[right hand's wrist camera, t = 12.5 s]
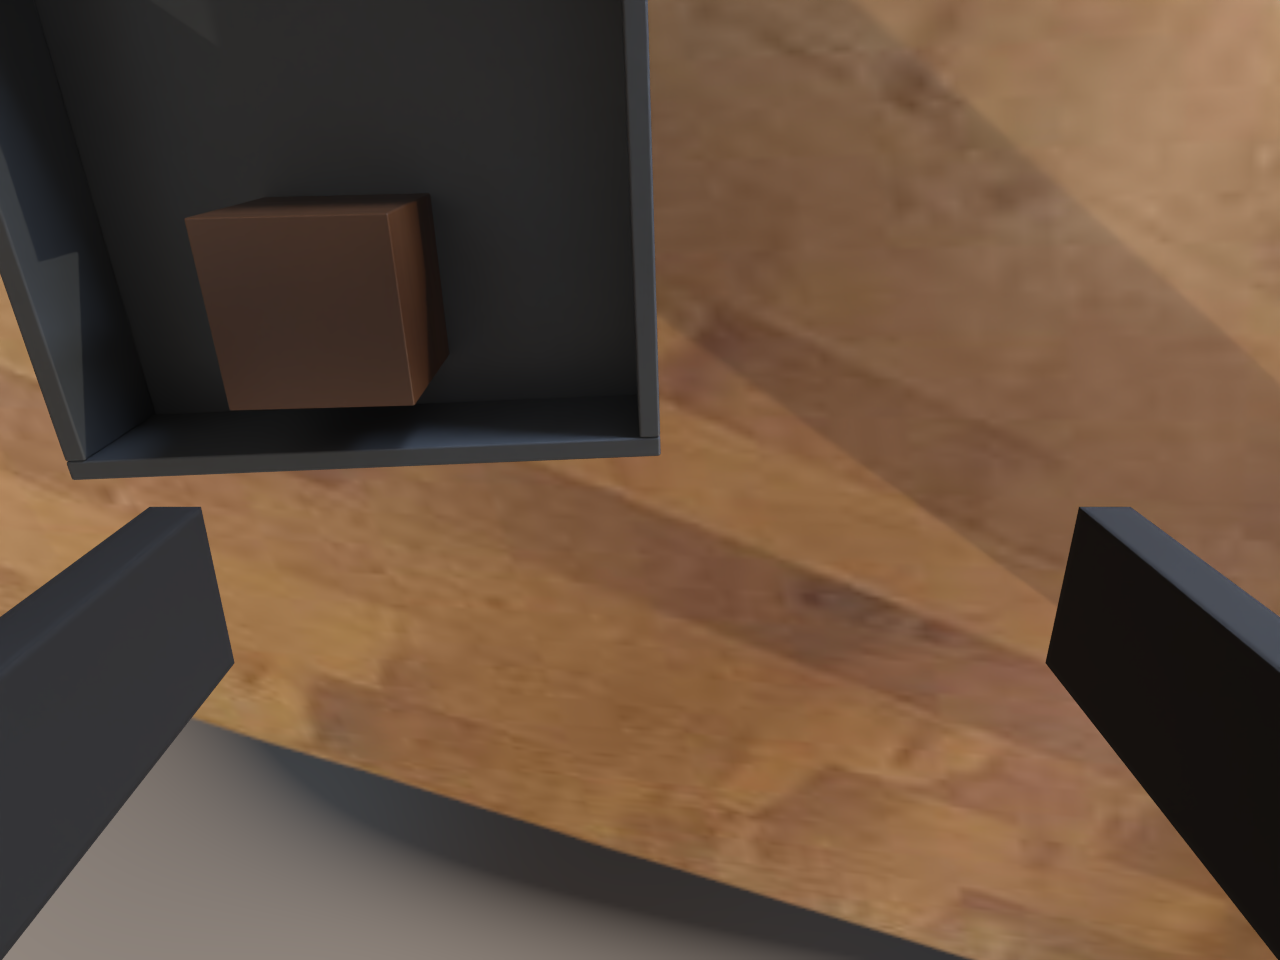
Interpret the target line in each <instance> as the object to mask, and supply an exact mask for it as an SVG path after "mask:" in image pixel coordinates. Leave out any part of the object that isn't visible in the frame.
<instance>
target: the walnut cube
mask: <svg viewBox="0 0 1280 960" xmlns="http://www.w3.org/2000/svg"><path fill="white" fill-rule="evenodd" d="M184 220H185V225H186V229H187V233H188V237H189V241H190V246H191V250H192V254H193V258H194V262H195V267H196V271H197V275H198V279H199V283H200V288H201V292H202V296H203V300H204V304H205V309H206V313H207V317H208V321H209V325H210V330H211V334H212V338H213V342H214V346H215V351H216V355H217V359H218V363H219V367H220V371H221V376H222V380H223V384H224V388H225V392H226V397H227V401H228V405H229V409H230V410H263V409H300V408H337V407H374V406H411V405H415V404H416V402H417V401H418V399H419V398H420V396H421V395H422V393H423V392H424V391H425V389H426V388H427V386H428V385H429V383H430V382H431V380H432V379H433V377H434V376H435V375H436V373H437V372H438V370H439V369H440V367H441V366H442V364H443V363H444V361H445V360H446V359H447V357H448V356H449V347H448V339H447V331H446V322H445V314H444V306H443V297H442V289H441V281H440V272H439V264H438V255H437V247H436V239H435V230H434V222H433V214H432V205H431V197H430V194H429V193H416V194H376V195H335V196H295V197H263V198H260V199H256V200H252V201H248V202H244V203H240V204H237V205H233V206H229V207H225V208H221V209H218V210H214V211H210V212H206V213H202V214H199V215H195V216H191V217H187V218H185V219H184Z"/></svg>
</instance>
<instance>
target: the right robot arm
mask: <svg viewBox="0 0 1280 960" xmlns="http://www.w3.org/2000/svg"><path fill="white" fill-rule="evenodd" d="M233 664H234V659H233V654H232V649H231V645H230V640H229V635H228V631H227V626H226V621H225V617H224V612H223V608H222V603H221V598H220V594H219V589H218V584H217V580H216V575H215V570H214V566H213V561H212V556H211V552H210V547H209V542H208V538H207V533H206V529H205V524H204V519H203V515H202V510H201V507H149V508H148V509H146V510H145V511H143V512H142V513H141V514H139V515H138V516H137V517H135V518H134V519H133V520H131V521H130V522H129V523H127V524H126V525H125V526H123V527H122V528H120V529H119V530H118V531H116V532H115V533H114V534H112V535H111V536H110V537H108V538H107V539H106V540H104V541H103V542H101V543H100V544H99V545H97V546H96V547H95V548H93V549H92V550H91V551H89V552H88V553H87V554H85V555H84V556H82V557H81V558H80V559H78V560H77V561H76V562H74V563H73V564H72V565H70V566H69V567H68V568H66V569H65V570H63V571H62V572H61V573H59V574H58V575H57V576H55V577H54V578H53V579H51V580H50V581H49V582H47V583H46V584H45V585H43V586H42V587H40V588H39V589H38V590H36V591H35V592H34V593H32V594H31V595H30V596H28V597H27V598H26V599H24V600H23V601H21V602H20V603H19V604H17V605H16V606H15V607H13V608H12V609H11V610H9V611H8V612H7V613H5V614H4V615H2V616H1V617H0V960H2V959H3V958H4V956H5V955H6V954H7V953H8V951H9V950H10V949H11V948H12V946H13V945H14V944H15V942H16V941H17V940H18V939H19V937H20V936H21V935H22V933H23V932H24V931H25V930H26V928H27V927H28V926H29V925H30V923H31V922H32V921H33V919H34V918H35V917H36V916H37V914H38V913H39V912H40V910H41V909H42V908H43V907H44V905H45V904H46V903H47V901H48V900H49V899H50V898H51V896H52V895H53V894H54V893H55V891H56V890H57V889H58V888H59V886H60V885H61V884H62V882H63V881H64V880H65V879H66V877H67V876H68V875H69V873H70V872H71V871H72V870H73V868H74V867H75V866H76V865H77V863H78V862H79V861H80V859H81V858H82V857H83V856H84V854H85V853H86V852H87V851H88V849H89V848H90V847H91V845H92V844H93V843H94V842H95V840H96V839H97V838H98V836H99V835H100V834H101V833H102V831H103V830H104V829H105V828H106V826H107V825H108V824H109V822H110V821H111V820H112V819H113V817H114V816H115V815H116V813H117V812H118V811H119V810H120V808H121V807H122V806H123V805H124V803H125V802H126V801H127V799H128V798H129V797H130V796H131V794H132V793H133V792H134V791H135V789H136V788H137V787H138V785H139V784H140V783H141V782H142V780H143V779H144V778H145V776H146V775H147V774H148V773H149V771H150V770H151V769H152V768H153V766H154V765H155V764H156V762H157V761H158V760H159V759H160V757H161V756H162V755H163V754H164V752H165V751H166V750H167V748H168V747H169V746H170V745H171V743H172V742H173V741H174V739H175V738H176V737H177V736H178V734H179V733H180V732H181V731H182V729H183V728H184V727H185V725H186V724H187V723H188V722H189V720H190V719H191V718H192V717H193V715H194V714H195V713H196V711H197V710H198V709H199V708H200V706H201V705H202V704H203V702H204V701H205V700H206V699H207V697H208V696H209V695H210V694H211V692H212V691H213V690H214V688H215V687H216V686H217V685H218V683H219V682H220V681H221V680H222V678H223V677H224V676H225V674H226V673H227V672H228V671H229V669H230V668H231V667H232V665H233ZM1046 664H1047V665H1048V667H1049V668H1050V669H1051V671H1052V672H1053V673H1054V674H1055V676H1056V677H1057V678H1058V680H1059V681H1060V682H1061V683H1062V685H1063V686H1064V687H1065V688H1066V690H1067V691H1068V692H1069V694H1070V695H1071V696H1072V697H1073V699H1074V700H1075V701H1076V702H1077V704H1078V705H1079V706H1080V708H1081V709H1082V710H1083V711H1084V713H1085V714H1086V715H1087V717H1088V718H1089V719H1090V720H1091V722H1092V723H1093V724H1094V725H1095V727H1096V728H1097V729H1098V731H1099V732H1100V733H1101V734H1102V736H1103V737H1104V738H1105V739H1106V741H1107V742H1108V743H1109V745H1110V746H1111V747H1112V748H1113V750H1114V751H1115V752H1116V754H1117V755H1118V756H1119V757H1120V759H1121V760H1122V761H1123V762H1124V764H1125V765H1126V766H1127V768H1128V769H1129V770H1130V771H1131V773H1132V774H1133V775H1134V777H1135V778H1136V779H1137V780H1138V782H1139V783H1140V784H1141V785H1142V787H1143V788H1144V789H1145V791H1146V792H1147V793H1148V794H1149V796H1150V797H1151V798H1152V799H1153V801H1154V802H1155V803H1156V805H1157V806H1158V807H1159V808H1160V810H1161V811H1162V812H1163V814H1164V815H1165V816H1166V817H1167V819H1168V820H1169V821H1170V822H1171V824H1172V825H1173V826H1174V828H1175V829H1176V830H1177V831H1178V833H1179V834H1180V835H1181V836H1182V838H1183V839H1184V840H1185V842H1186V843H1187V844H1188V845H1189V847H1190V848H1191V849H1192V851H1193V852H1194V853H1195V854H1196V856H1197V857H1198V858H1199V859H1200V861H1201V862H1202V863H1203V865H1204V866H1205V867H1206V868H1207V870H1208V871H1209V872H1210V874H1211V875H1212V876H1213V877H1214V879H1215V880H1216V881H1217V882H1218V884H1219V885H1220V886H1221V888H1222V889H1223V890H1224V891H1225V893H1226V894H1227V895H1228V896H1229V898H1230V899H1231V900H1232V902H1233V903H1234V904H1235V905H1236V907H1237V908H1238V909H1239V911H1240V912H1241V913H1242V914H1243V916H1244V917H1245V918H1246V919H1247V921H1248V922H1249V923H1250V925H1251V926H1252V927H1253V928H1254V930H1255V931H1256V932H1257V933H1258V935H1259V936H1260V937H1261V939H1262V940H1263V941H1264V942H1265V944H1266V945H1267V946H1268V948H1269V949H1270V950H1271V951H1272V953H1273V954H1274V955H1275V956H1276V958H1277V959H1278V960H1280V617H1279V616H1278V615H1276V614H1275V613H1273V612H1272V611H1271V610H1269V609H1268V608H1267V607H1265V606H1264V605H1263V604H1261V603H1260V602H1259V601H1257V600H1256V599H1254V598H1253V597H1252V596H1250V595H1249V594H1248V593H1246V592H1245V591H1244V590H1242V589H1241V588H1240V587H1238V586H1237V585H1236V584H1234V583H1233V582H1231V581H1230V580H1229V579H1227V578H1226V577H1225V576H1223V575H1222V574H1221V573H1219V572H1218V571H1217V570H1215V569H1214V568H1212V567H1211V566H1210V565H1208V564H1207V563H1206V562H1204V561H1203V560H1202V559H1200V558H1199V557H1198V556H1196V555H1195V554H1193V553H1192V552H1191V551H1189V550H1188V549H1187V548H1185V547H1184V546H1183V545H1181V544H1180V543H1179V542H1177V541H1176V540H1174V539H1173V538H1172V537H1170V536H1169V535H1168V534H1166V533H1165V532H1164V531H1162V530H1161V529H1160V528H1158V527H1157V526H1155V525H1154V524H1153V523H1151V522H1150V521H1149V520H1147V519H1146V518H1145V517H1143V516H1142V515H1141V514H1139V513H1138V512H1137V511H1135V510H1134V509H1132V508H1131V507H1079V510H1078V515H1077V519H1076V524H1075V529H1074V533H1073V538H1072V542H1071V547H1070V552H1069V556H1068V561H1067V566H1066V570H1065V575H1064V580H1063V584H1062V589H1061V594H1060V598H1059V603H1058V608H1057V612H1056V617H1055V621H1054V626H1053V631H1052V635H1051V640H1050V645H1049V649H1048V654H1047V659H1046Z"/></svg>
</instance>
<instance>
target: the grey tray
mask: <svg viewBox="0 0 1280 960" xmlns="http://www.w3.org/2000/svg"><path fill="white" fill-rule="evenodd" d="M416 193H429V194H430V197H431V205H432V214H433V222H434V230H435V239H436V247H437V255H438V264H439V272H440V281H441V289H442V297H443V306H444V314H445V322H446V331H447V339H448V347H449V356H448V357H447V359H446V360H445V361H444V363H443V364H442V366H441V367H440V369H439V370H438V372H437V373H436V375H435V376H434V377H433V379H432V380H431V382H430V383H429V385H428V386H427V388H426V389H425V391H424V392H423V393H422V395H421V396H420V398H419V399H418V401H417V402H416V404H415V405H411V406H374V407H337V408H300V409H263V410H230V409H229V405H228V401H227V397H226V392H225V388H224V384H223V380H222V376H221V371H220V367H219V363H218V359H217V355H216V351H215V346H214V342H213V338H212V334H211V330H210V325H209V321H208V317H207V313H206V309H205V304H204V300H203V296H202V292H201V288H200V283H199V279H198V275H197V271H196V267H195V262H194V258H193V254H192V250H191V246H190V241H189V237H188V233H187V229H186V225H185V220H184V219H185V218H187V217H191V216H195V215H199V214H202V213H206V212H210V211H214V210H218V209H221V208H225V207H229V206H233V205H237V204H240V203H244V202H248V201H252V200H256V199H260V198H263V197H295V196H335V195H376V194H416ZM0 274H1V277H2V280H3V283H4V285H5V288H6V291H7V294H8V297H9V300H10V303H11V305H12V308H13V311H14V314H15V317H16V320H17V323H18V325H19V328H20V331H21V334H22V337H23V340H24V343H25V346H26V348H27V351H28V354H29V357H30V360H31V363H32V366H33V368H34V371H35V374H36V377H37V380H38V383H39V386H40V388H41V391H42V394H43V397H44V400H45V403H46V406H47V408H48V411H49V414H50V417H51V420H52V423H53V426H54V428H55V431H56V434H57V437H58V440H59V443H60V446H61V448H62V451H63V454H64V457H65V460H66V461H68V462H67V466H68V468H69V471H70V474H71V477H72V479H73V480H82V479H107V478H131V477H155V476H179V475H203V474H227V473H251V472H276V471H300V470H324V469H348V468H372V467H396V466H420V465H445V464H469V463H493V462H517V461H541V460H565V459H589V458H614V457H638V456H659V455H660V453H661V452H660V417H659V382H658V347H657V312H656V277H655V242H654V207H653V172H652V137H651V102H650V67H649V32H648V0H0Z"/></svg>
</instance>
